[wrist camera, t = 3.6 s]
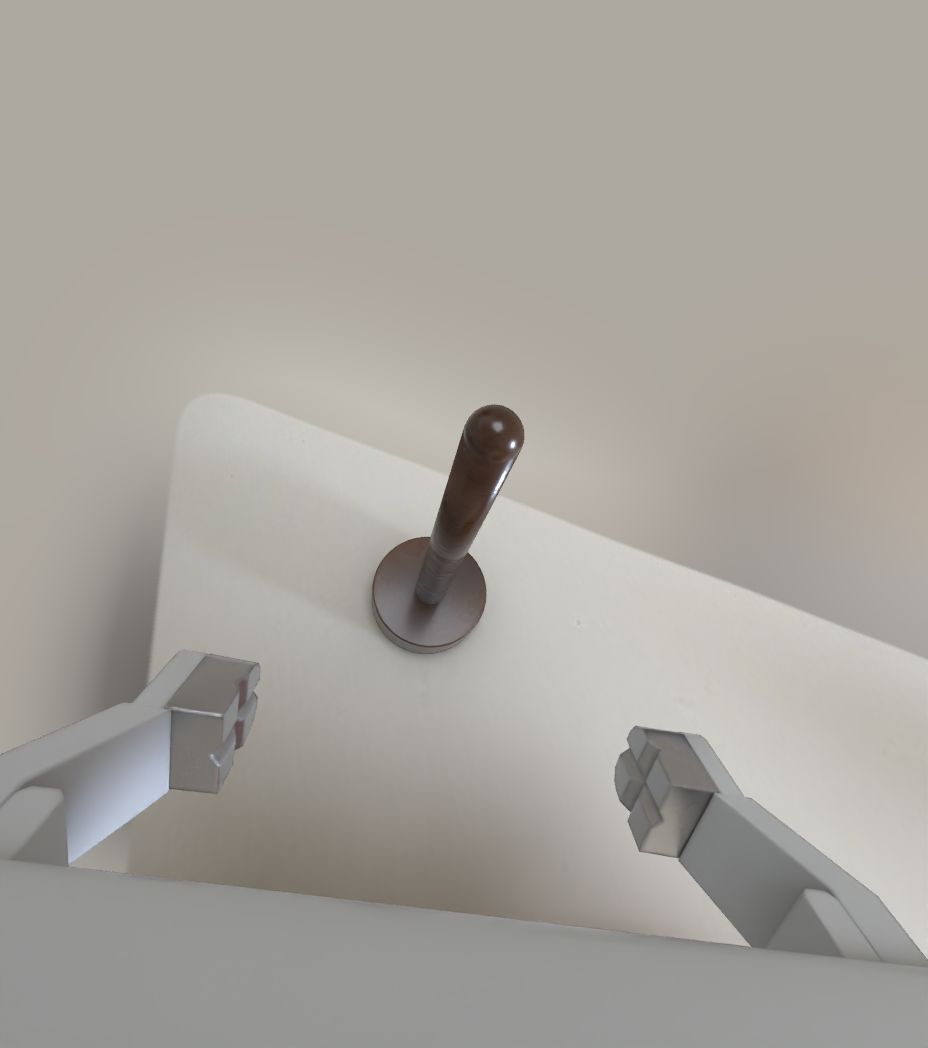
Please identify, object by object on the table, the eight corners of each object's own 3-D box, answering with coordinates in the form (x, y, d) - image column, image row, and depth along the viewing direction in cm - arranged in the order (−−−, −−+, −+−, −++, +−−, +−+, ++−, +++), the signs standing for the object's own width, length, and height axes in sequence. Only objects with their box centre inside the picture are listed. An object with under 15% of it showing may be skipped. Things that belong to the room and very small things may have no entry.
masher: (348, 600, 26) (322, 407, 11) (424, 529, 29) (486, 293, 13) (429, 678, 25) (521, 583, 10) (499, 598, 28) (656, 426, 13)
